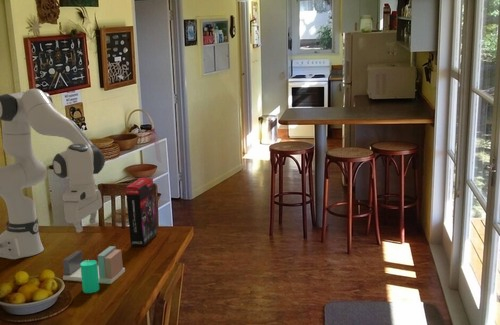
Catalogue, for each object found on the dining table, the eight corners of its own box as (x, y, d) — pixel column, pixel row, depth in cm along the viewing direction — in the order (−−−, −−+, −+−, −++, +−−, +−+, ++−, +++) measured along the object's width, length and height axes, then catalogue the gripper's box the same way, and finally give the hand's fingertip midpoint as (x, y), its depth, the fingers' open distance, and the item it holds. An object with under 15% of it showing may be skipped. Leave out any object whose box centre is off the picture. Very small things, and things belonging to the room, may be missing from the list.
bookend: (64, 274, 229) (62, 260, 228) (77, 264, 239) (76, 250, 237) (70, 275, 229) (68, 260, 227) (83, 265, 238) (81, 251, 237)
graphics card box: (144, 247, 260) (140, 187, 254) (129, 247, 262) (124, 186, 256) (157, 234, 277) (154, 177, 271) (143, 234, 278) (139, 177, 272)
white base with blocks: (63, 279, 229) (60, 253, 226) (79, 267, 240) (76, 242, 238) (111, 283, 224) (109, 257, 222) (125, 271, 235) (123, 246, 233)
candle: (98, 292, 217) (95, 261, 214) (81, 293, 216) (78, 262, 214) (100, 285, 223) (98, 255, 220) (84, 286, 222) (81, 256, 219)
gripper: (89, 182, 222) (92, 218, 225) (59, 197, 203) (63, 236, 206) (104, 183, 221) (107, 219, 223) (76, 198, 201) (80, 237, 204)
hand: (86, 227), depth 214 cm, fingers open, 8 cm apart
